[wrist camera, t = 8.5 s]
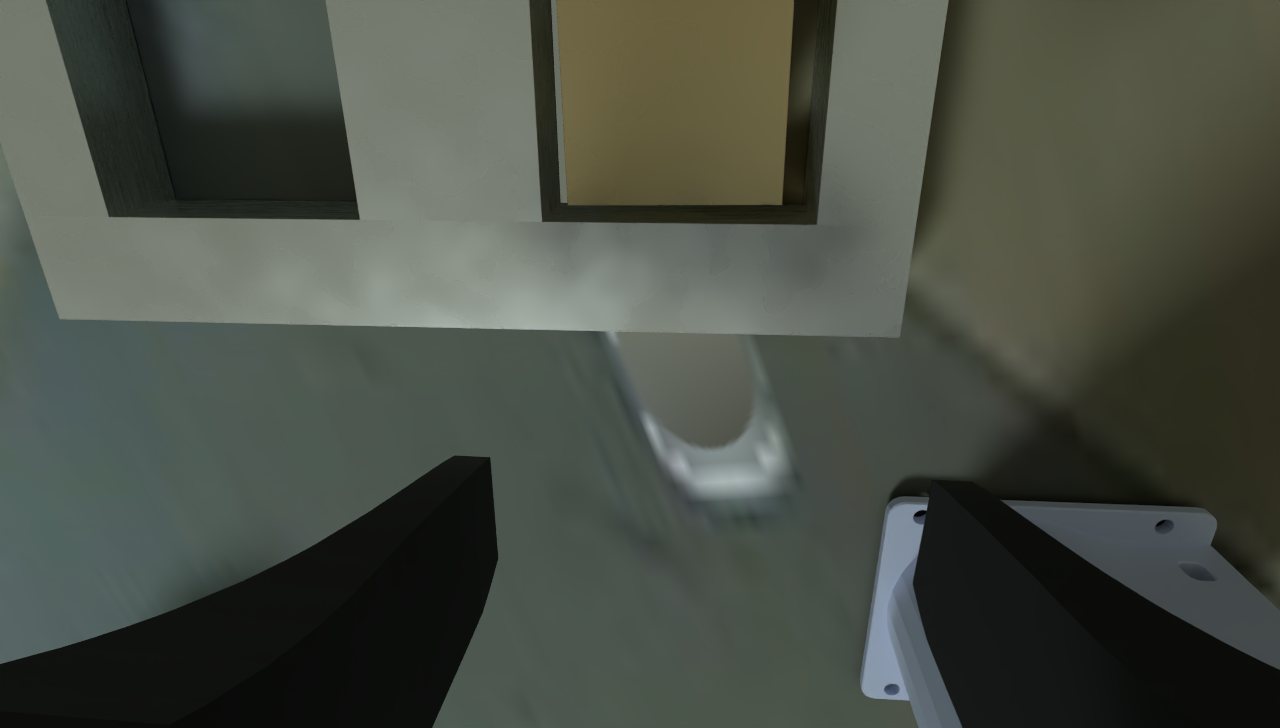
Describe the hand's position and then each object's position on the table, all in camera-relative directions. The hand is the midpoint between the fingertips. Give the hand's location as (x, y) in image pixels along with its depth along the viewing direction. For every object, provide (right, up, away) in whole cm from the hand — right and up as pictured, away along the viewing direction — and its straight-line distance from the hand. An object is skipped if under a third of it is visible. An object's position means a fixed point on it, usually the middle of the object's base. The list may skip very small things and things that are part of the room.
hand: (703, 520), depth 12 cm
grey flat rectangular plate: (-5, +10, +7) cm, 13 cm away
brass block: (0, +10, +6) cm, 12 cm away
